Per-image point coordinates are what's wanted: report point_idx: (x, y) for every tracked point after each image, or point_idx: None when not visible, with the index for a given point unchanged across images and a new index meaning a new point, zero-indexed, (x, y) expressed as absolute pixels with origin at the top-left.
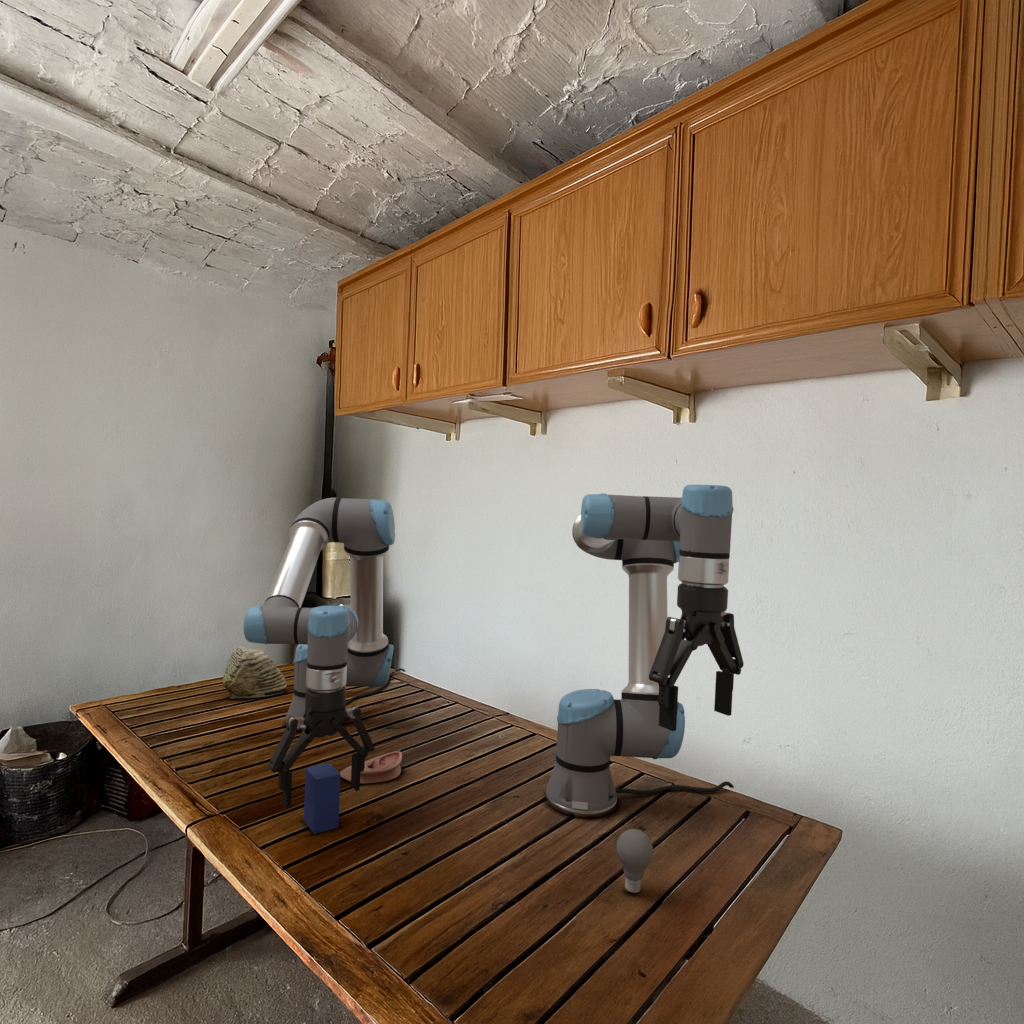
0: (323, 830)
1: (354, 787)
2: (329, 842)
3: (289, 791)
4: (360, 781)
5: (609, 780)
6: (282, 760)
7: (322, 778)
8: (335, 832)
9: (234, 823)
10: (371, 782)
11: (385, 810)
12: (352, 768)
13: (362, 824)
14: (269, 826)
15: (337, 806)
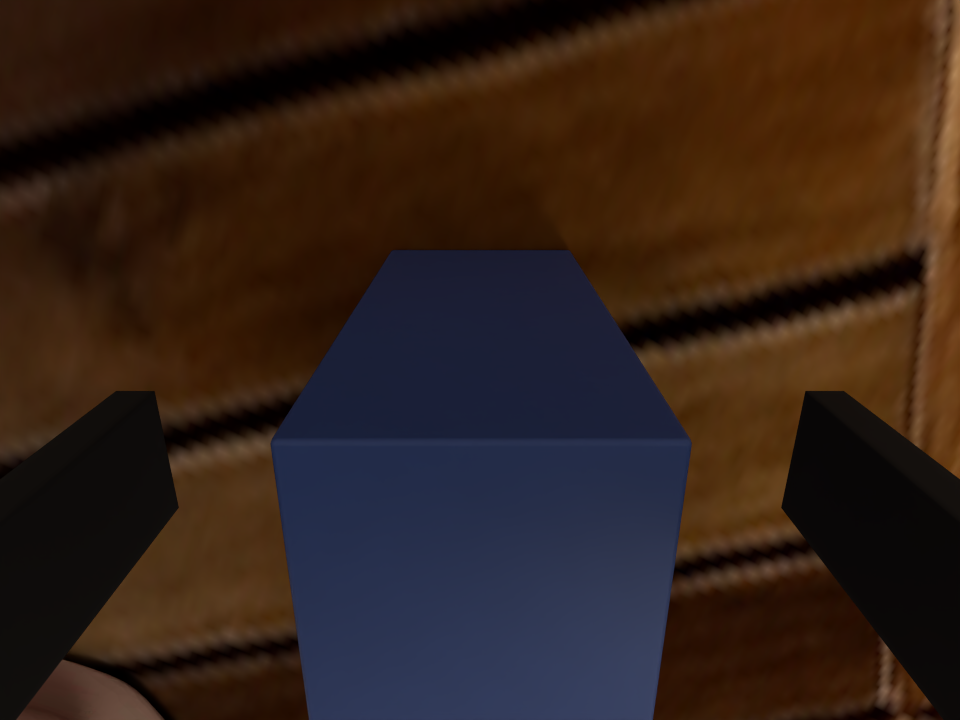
0: (502, 252)
1: (152, 438)
2: (518, 81)
3: (931, 477)
4: (100, 686)
5: None
6: None
7: (584, 435)
8: (431, 198)
9: None
10: None
11: (14, 304)
12: (63, 621)
13: (221, 202)
14: (755, 482)
15: (382, 290)
